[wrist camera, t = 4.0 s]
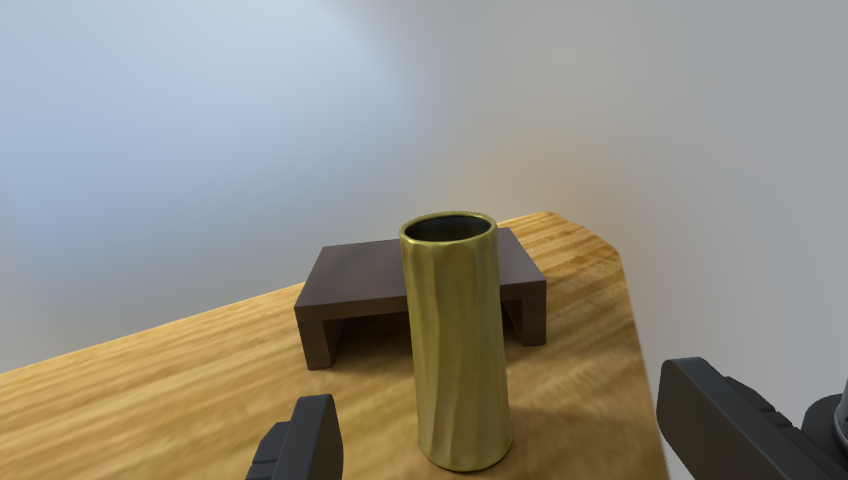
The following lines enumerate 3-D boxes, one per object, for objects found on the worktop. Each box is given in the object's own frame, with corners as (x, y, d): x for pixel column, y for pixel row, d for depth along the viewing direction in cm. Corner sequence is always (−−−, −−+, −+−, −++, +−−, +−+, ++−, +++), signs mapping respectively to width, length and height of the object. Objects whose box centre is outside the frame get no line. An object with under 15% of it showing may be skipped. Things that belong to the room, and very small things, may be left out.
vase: (403, 421, 29) (374, 223, 24) (480, 388, 31) (468, 202, 26) (445, 491, 24) (419, 258, 19) (533, 446, 26) (531, 227, 21)
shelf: (510, 277, 48) (508, 226, 46) (546, 344, 36) (546, 279, 34) (332, 296, 48) (322, 246, 46) (308, 370, 36) (293, 307, 33)
